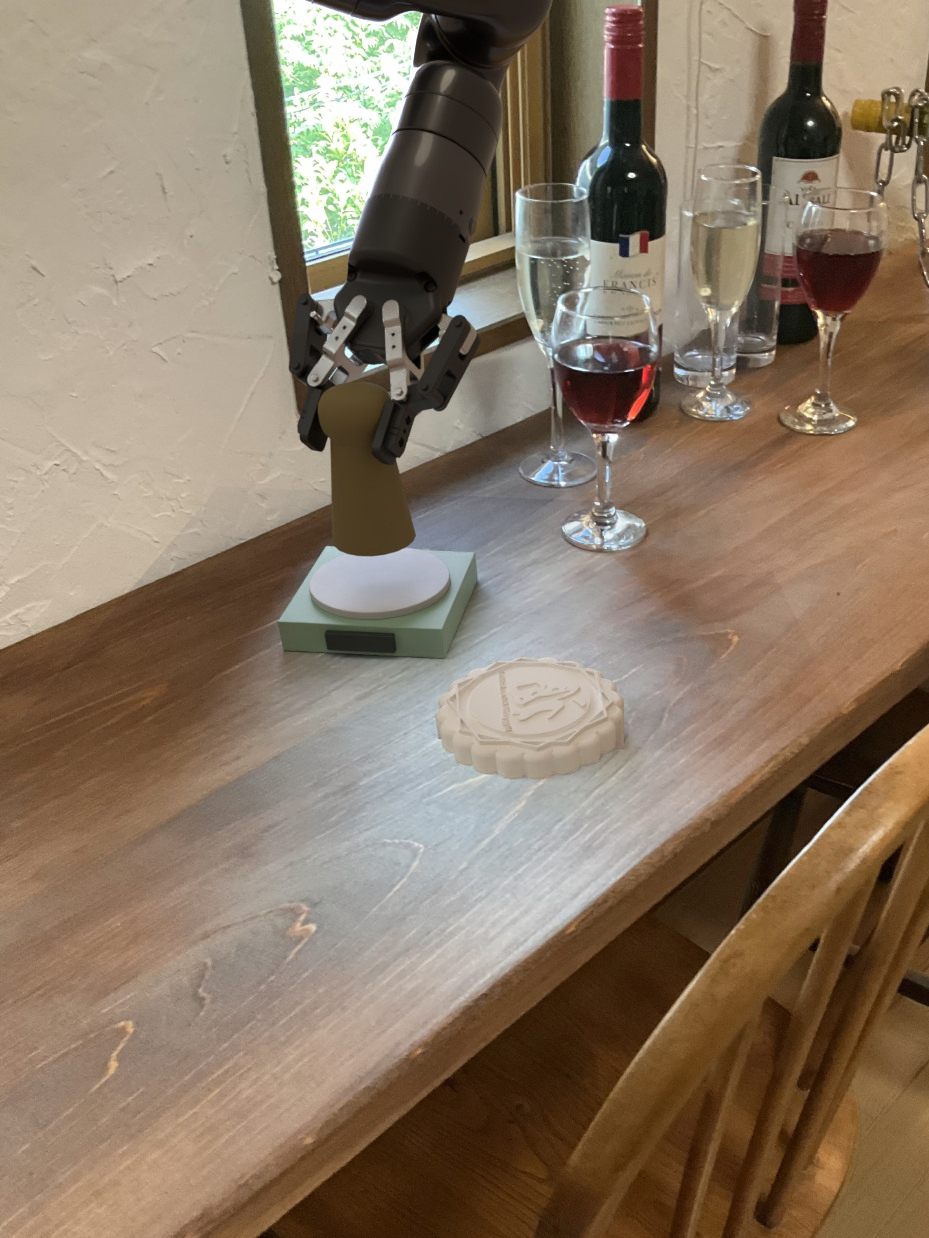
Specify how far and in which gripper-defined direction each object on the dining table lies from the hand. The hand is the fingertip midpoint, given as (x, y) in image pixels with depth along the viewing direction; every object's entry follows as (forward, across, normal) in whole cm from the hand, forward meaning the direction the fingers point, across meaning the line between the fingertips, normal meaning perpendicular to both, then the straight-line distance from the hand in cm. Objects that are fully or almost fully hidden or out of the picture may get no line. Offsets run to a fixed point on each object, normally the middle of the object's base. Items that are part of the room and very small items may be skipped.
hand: (346, 452), depth 87 cm
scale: (+8, 0, +11) cm, 13 cm away
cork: (+4, 0, +6) cm, 8 cm away
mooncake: (+16, +18, +3) cm, 25 cm away
